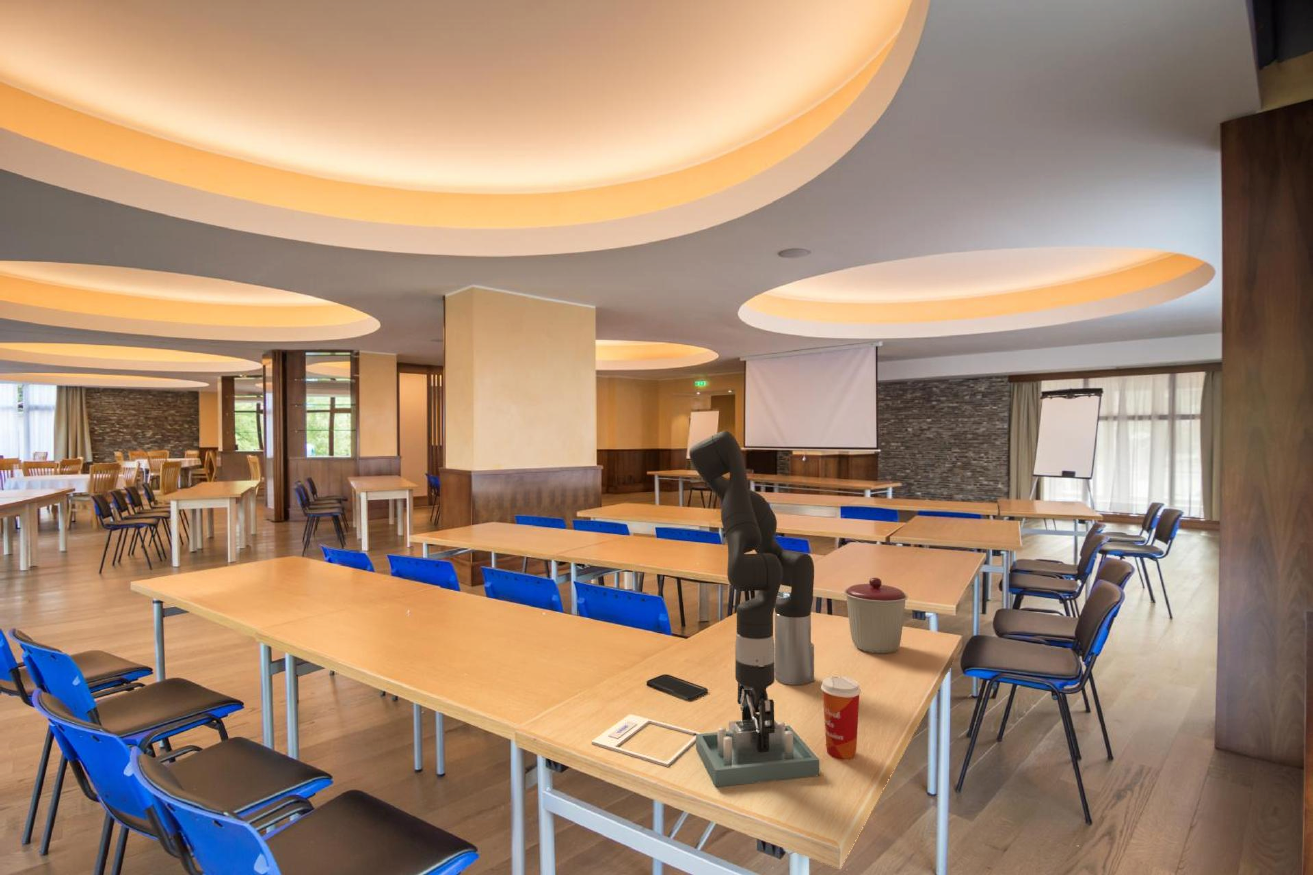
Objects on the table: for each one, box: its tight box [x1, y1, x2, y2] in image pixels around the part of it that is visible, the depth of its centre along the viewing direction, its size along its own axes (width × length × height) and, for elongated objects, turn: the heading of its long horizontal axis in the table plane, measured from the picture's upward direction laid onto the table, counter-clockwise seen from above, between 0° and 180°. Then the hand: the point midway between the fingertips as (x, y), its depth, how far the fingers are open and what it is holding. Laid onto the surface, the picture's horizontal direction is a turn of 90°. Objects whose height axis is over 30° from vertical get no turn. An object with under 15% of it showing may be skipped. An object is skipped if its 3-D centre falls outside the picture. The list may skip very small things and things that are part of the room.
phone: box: [646, 673, 709, 702], centre depth 156 cm, size 8×1×15 cm
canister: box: [843, 577, 909, 655], centre depth 186 cm, size 18×18×21 cm
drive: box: [728, 719, 782, 765], centre depth 121 cm, size 9×5×6 cm, turn 102°
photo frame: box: [591, 713, 703, 768], centre depth 130 cm, size 15×1×18 cm
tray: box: [695, 721, 820, 788], centre depth 121 cm, size 20×14×6 cm
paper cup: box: [820, 676, 862, 761], centre depth 124 cm, size 8×8×14 cm
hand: (755, 740), depth 121 cm, fingers open, 8 cm apart
